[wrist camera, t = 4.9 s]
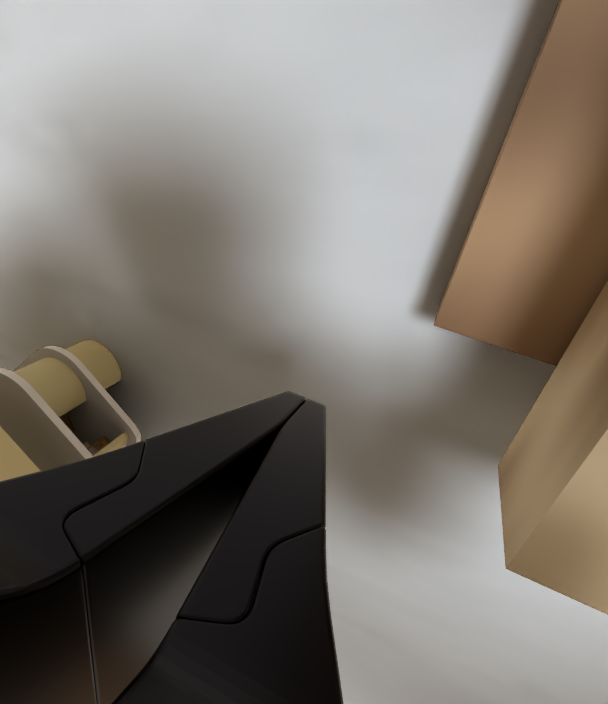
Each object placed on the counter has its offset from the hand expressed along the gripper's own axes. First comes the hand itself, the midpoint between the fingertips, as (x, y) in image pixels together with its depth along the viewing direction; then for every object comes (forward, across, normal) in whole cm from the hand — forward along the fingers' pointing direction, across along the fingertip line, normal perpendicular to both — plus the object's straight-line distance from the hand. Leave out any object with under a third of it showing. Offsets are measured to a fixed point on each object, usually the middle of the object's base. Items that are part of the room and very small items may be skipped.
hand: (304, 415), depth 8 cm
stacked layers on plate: (+5, +11, +7) cm, 14 cm away
